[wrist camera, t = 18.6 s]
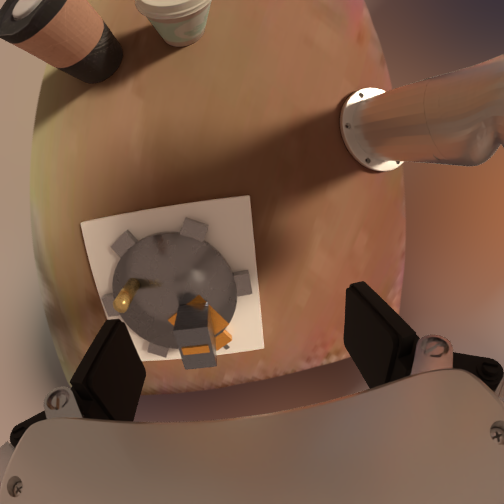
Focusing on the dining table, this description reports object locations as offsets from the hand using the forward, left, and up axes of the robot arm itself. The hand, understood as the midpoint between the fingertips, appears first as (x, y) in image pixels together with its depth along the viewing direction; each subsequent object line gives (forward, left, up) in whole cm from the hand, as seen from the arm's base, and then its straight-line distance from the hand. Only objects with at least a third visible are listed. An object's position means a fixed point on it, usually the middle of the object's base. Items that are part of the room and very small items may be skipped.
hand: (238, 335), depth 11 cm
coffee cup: (+3, -27, -26) cm, 37 cm away
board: (+8, +9, -25) cm, 28 cm away
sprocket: (+8, +9, -24) cm, 27 cm away
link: (+5, +13, -23) cm, 27 cm away
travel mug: (+15, -25, -26) cm, 39 cm away
